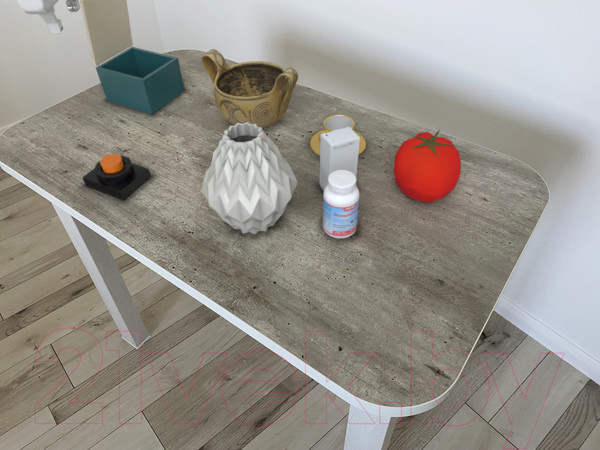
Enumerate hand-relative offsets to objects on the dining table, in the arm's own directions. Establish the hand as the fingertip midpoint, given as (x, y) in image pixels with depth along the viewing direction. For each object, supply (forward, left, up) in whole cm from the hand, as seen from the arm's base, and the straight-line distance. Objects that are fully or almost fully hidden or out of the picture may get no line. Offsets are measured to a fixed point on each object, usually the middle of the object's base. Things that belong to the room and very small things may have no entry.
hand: (66, 20), depth 85 cm
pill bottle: (+53, +1, -28) cm, 60 cm away
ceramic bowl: (+21, +24, -28) cm, 43 cm away
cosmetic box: (+48, +11, -28) cm, 57 cm away
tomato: (+63, +17, -28) cm, 71 cm away
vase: (+38, -4, -28) cm, 48 cm away
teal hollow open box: (-10, +22, -28) cm, 37 cm away
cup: (+42, +24, -28) cm, 56 cm away
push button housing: (+8, -7, -28) cm, 30 cm away
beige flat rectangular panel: (-15, +22, -11) cm, 29 cm away
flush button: (+8, -7, -24) cm, 27 cm away
